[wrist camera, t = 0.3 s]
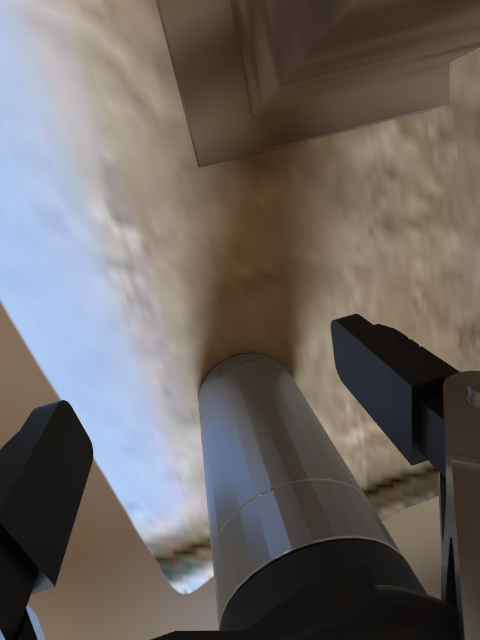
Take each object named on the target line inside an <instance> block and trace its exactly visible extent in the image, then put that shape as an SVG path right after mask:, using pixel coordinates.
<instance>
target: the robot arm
mask: <svg viewBox="0 0 480 640" xmlns="http://www.w3.org/2000/svg"><path fill="white" fill-rule="evenodd" d="M331 334H332V342H333V350H334V359H335V366H336V370H337V372H338V375H339V377H340V379H341V381H342V382H343V384H344V385H345V386H346V387H347V389H348V390H349V391H350V392H351V393H352V395H353V396H354V397H355V398H356V399H357V401H358V402H359V403H360V404H361V405H362V407H363V408H364V409H365V410H366V411H367V413H368V414H369V415H370V416H371V417H372V419H373V420H374V421H375V422H376V423H377V425H378V426H379V427H380V428H381V429H382V431H383V432H384V433H385V434H386V435H387V437H388V438H389V439H390V440H391V441H392V443H393V444H394V445H395V446H396V447H397V449H398V450H399V451H400V452H401V453H402V455H403V456H404V457H405V458H406V459H407V461H408V462H409V463H410V464H411V465H415V464H418V463H421V462H424V461H427V460H429V461H430V462H431V464H432V465H433V466H434V467H435V468H436V469H437V470H438V471H439V505H440V533H441V600H440V599H438V598H435V597H433V596H430V595H428V594H427V593H426V591H425V590H424V588H423V586H422V585H421V583H420V582H419V580H418V578H417V577H416V575H415V574H414V572H413V570H412V569H411V567H410V566H409V564H408V562H407V561H406V560H405V558H404V557H403V555H402V554H401V552H400V550H399V549H398V547H397V545H396V544H395V542H394V541H393V539H392V537H391V536H390V534H389V533H388V531H387V529H386V528H385V526H384V525H383V523H382V521H381V520H380V518H379V516H378V515H377V513H376V512H375V510H374V508H373V507H372V505H371V504H370V502H369V501H368V499H367V498H366V496H365V494H364V493H363V491H362V490H361V488H360V486H359V485H358V483H357V481H356V480H355V478H354V477H353V475H352V473H351V472H350V470H349V469H348V467H347V465H346V464H345V462H344V460H343V459H342V457H341V456H340V454H339V452H338V451H337V449H336V448H335V446H334V444H333V443H332V441H331V439H330V438H329V436H328V435H327V433H326V431H325V430H324V428H323V426H322V425H321V423H320V422H319V420H318V418H317V417H316V415H315V414H314V412H313V410H312V409H311V407H310V405H309V404H308V402H307V401H306V399H305V397H304V395H303V394H302V392H301V391H300V389H299V387H298V386H297V384H296V383H295V381H294V379H293V378H292V376H291V375H290V373H289V371H288V370H287V369H286V368H285V367H284V365H283V364H281V363H280V362H279V361H277V360H276V359H274V358H271V357H269V356H267V355H262V354H242V355H237V356H234V357H231V358H229V359H226V360H225V361H223V362H221V363H220V364H218V365H217V366H216V367H215V368H214V369H213V370H212V371H210V372H209V374H208V375H207V377H206V378H205V379H204V381H203V383H202V386H201V388H200V392H199V398H198V401H199V413H200V425H201V439H202V450H203V461H204V473H205V484H206V495H207V506H208V517H209V528H210V539H211V551H212V560H213V569H214V581H215V591H216V603H217V613H218V624H219V631H174V632H171V633H168V634H165V635H163V636H160V637H157V638H154V639H151V640H480V371H466V372H459V371H458V370H456V369H455V368H453V367H452V366H450V365H449V364H447V363H446V362H444V361H443V360H441V359H440V358H438V357H437V356H435V355H434V354H432V353H431V352H429V351H428V350H426V349H425V348H423V347H422V346H421V347H419V344H417V343H416V342H414V341H413V340H411V339H410V340H409V339H408V337H407V336H405V335H404V334H402V333H401V332H399V331H398V330H396V329H394V328H390V327H387V326H384V325H381V324H376V325H373V324H371V323H370V322H368V321H367V320H366V319H364V318H363V317H362V316H360V315H359V314H353V315H349V316H346V317H343V318H339V319H336V320H333V321H332V322H331ZM92 461H93V447H92V443H91V440H90V438H89V436H88V435H87V433H86V431H85V429H84V428H83V426H82V424H81V422H80V421H79V419H78V417H77V415H76V414H75V412H74V410H73V408H72V407H71V405H70V404H69V403H68V402H67V401H65V400H61V401H58V402H55V403H51V404H48V405H44V406H41V407H38V408H35V409H34V410H33V411H32V412H31V414H30V416H29V417H28V419H27V420H26V422H25V423H24V425H23V427H22V428H21V430H20V431H19V432H18V433H17V434H16V435H14V436H13V437H12V438H11V439H10V440H9V441H8V442H7V443H6V444H5V445H4V446H3V447H2V448H1V450H0V640H45V637H44V634H43V632H42V630H41V627H40V624H39V622H38V619H37V616H36V614H35V612H34V611H33V610H32V609H31V608H30V606H29V605H28V601H29V598H30V595H31V594H34V593H37V592H40V591H43V590H45V589H49V588H52V587H55V584H56V581H57V578H58V574H59V571H60V567H61V564H62V561H63V558H64V555H65V551H66V548H67V545H68V541H69V538H70V535H71V531H72V528H73V525H74V521H75V518H76V514H77V511H78V508H79V505H80V501H81V498H82V495H83V491H84V488H85V484H86V481H87V478H88V475H89V471H90V468H91V465H92Z"/></svg>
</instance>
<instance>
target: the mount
mask: <svg viewBox="0 0 480 640" xmlns="http://www.w3.org/2000/svg"><path fill="white" fill-rule="evenodd" d="M156 3H157V6H158V10H159V14H160V18H161V22H162V26H163V30H164V34H165V38H166V41H167V45H168V49H169V53H170V57H171V61H172V65H173V69H174V73H175V76H176V80H177V84H178V88H179V92H180V96H181V100H182V104H183V108H184V111H185V115H186V119H187V123H188V127H189V131H190V135H191V139H192V143H193V146H194V150H195V154H196V158H197V162H198V166H199V167H203V166H207V165H211V164H215V163H219V162H223V161H227V160H231V159H235V158H239V157H243V156H247V155H251V154H255V153H259V152H263V151H267V150H271V149H275V148H279V147H283V146H287V145H291V144H295V143H299V142H303V141H307V140H311V139H315V138H319V137H323V136H327V135H331V134H335V133H339V132H343V131H347V130H352V129H356V128H360V127H364V126H368V125H372V124H376V123H380V122H384V121H388V120H392V119H396V118H400V117H404V116H408V115H412V114H416V113H420V112H424V111H428V110H431V109H434V108H437V107H440V106H442V105H445V104H448V103H449V62H451V61H453V60H455V59H457V58H459V57H461V56H463V55H465V54H467V53H469V52H471V51H473V50H475V49H477V48H479V47H480V0H156Z"/></svg>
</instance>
